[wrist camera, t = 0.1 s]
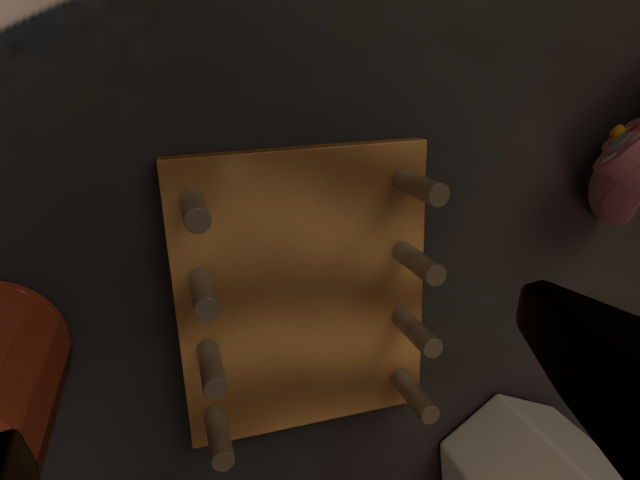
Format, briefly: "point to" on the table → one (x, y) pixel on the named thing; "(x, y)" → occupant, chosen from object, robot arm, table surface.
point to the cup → (31, 365)
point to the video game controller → (617, 176)
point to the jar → (521, 446)
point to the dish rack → (299, 284)
